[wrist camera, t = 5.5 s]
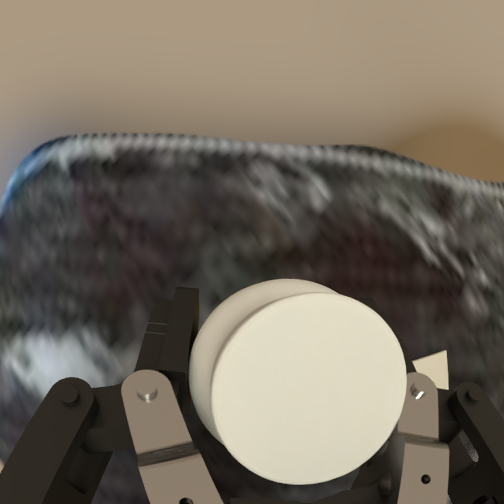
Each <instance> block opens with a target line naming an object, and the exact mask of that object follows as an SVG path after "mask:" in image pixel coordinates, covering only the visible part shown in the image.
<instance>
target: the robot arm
mask: <svg viewBox="0 0 504 504" xmlns="http://www.w3.org/2000/svg"><path fill="white" fill-rule="evenodd" d="M352 299H355V300H357V301H359V302H361V303H363V304H364V305H366V306H368V307H369V308H371V309H372V310H374V311H375V312H376V313H377V314H378V315H379V316H380V317H381V318H382V319H383V320H384V321H385V322H386V323H387V324H388V326H389V327H390V328H391V330H392V331H393V333H394V335H395V336H396V338H397V340H398V342H399V344H400V347H401V349H402V352H403V355H404V360H405V365H406V376H407V385H406V395H405V400H404V404H403V408H402V411H401V414H400V417H399V419H398V421H397V423H396V425H395V427H394V429H393V431H392V432H391V434H390V436H389V437H388V439H387V440H386V441H385V443H384V444H383V445H382V446H381V447H380V449H379V450H378V451H377V452H376V453H375V454H374V455H373V456H372V457H371V458H369V459H368V460H367V461H366V462H364V463H363V464H362V465H361V468H360V471H359V473H358V475H357V477H356V478H355V480H354V482H353V484H352V487H351V490H345V491H342V492H340V493H337V494H335V495H332V496H330V497H327V498H324V499H322V500H319V501H316V502H313V503H308V504H447V493H448V495H449V497H450V499H451V501H452V503H453V504H504V420H503V419H502V417H501V416H500V414H499V413H498V411H497V410H496V408H495V407H494V405H493V404H492V402H491V401H490V400H489V398H488V397H487V395H486V394H485V392H484V391H483V390H482V389H481V388H480V387H479V386H478V385H477V384H475V383H473V382H463V383H461V384H460V385H459V386H458V387H457V388H456V390H455V391H453V390H447V389H441V388H437V387H436V385H435V383H434V382H433V381H432V380H431V379H430V378H429V377H428V376H426V375H424V374H422V373H418V372H417V371H416V369H415V366H414V364H413V362H412V360H411V358H410V356H409V354H408V351H407V349H406V347H405V345H404V343H402V339H401V337H400V335H399V334H398V331H397V329H396V327H395V325H394V323H393V321H392V320H391V319H390V318H389V317H388V316H387V315H386V314H385V313H384V312H379V310H378V308H377V306H376V304H375V302H374V300H373V299H367V298H352ZM198 321H199V289H197V288H185V287H177V289H176V293H175V297H174V301H163V300H161V301H160V302H159V303H158V304H157V305H156V306H155V307H154V308H153V309H152V312H151V315H150V319H149V324H148V325H147V329H146V333H145V336H144V339H143V343H142V346H141V350H140V353H139V357H138V361H137V364H136V368H135V370H134V372H133V373H132V374H131V375H129V376H128V377H127V378H126V379H125V380H124V382H122V383H120V384H118V385H114V386H108V387H99V388H91V387H90V385H89V384H88V383H87V382H86V381H84V380H82V379H79V378H75V377H69V378H64V379H62V380H59V381H58V382H56V383H55V384H54V385H53V386H52V388H51V389H50V391H49V392H48V394H47V395H46V397H45V398H44V400H43V401H42V403H41V405H40V406H39V408H38V409H37V411H36V413H35V414H34V416H33V417H32V419H31V421H30V422H29V424H28V426H27V427H26V429H25V431H24V432H23V434H22V436H21V437H20V439H19V441H18V443H17V444H16V446H15V448H14V450H13V451H12V453H11V455H10V457H9V459H8V460H7V462H6V464H5V466H4V468H3V470H2V471H1V473H0V504H91V501H92V499H93V496H94V494H95V492H96V489H97V487H98V485H99V483H100V480H101V478H102V476H103V473H104V471H105V469H106V467H107V464H108V462H109V460H110V458H111V455H112V453H113V451H117V450H126V449H134V448H135V450H136V454H137V463H138V467H139V471H140V474H141V477H142V480H143V483H144V486H145V489H146V492H147V495H148V498H149V501H150V504H223V502H222V500H221V498H220V495H219V493H218V491H217V489H216V487H215V485H214V483H213V481H212V478H211V476H210V474H209V472H208V470H207V467H206V465H205V463H204V461H203V458H202V456H201V454H200V452H199V450H198V448H197V447H196V446H195V445H194V444H193V442H192V439H191V437H190V434H189V432H188V429H187V427H186V424H185V422H184V419H183V416H182V414H183V415H189V409H190V399H191V394H190V389H189V380H188V368H189V360H190V354H191V350H192V347H193V344H194V341H195V339H196V337H197V334H198ZM463 430H464V432H465V433H466V435H467V436H468V438H469V440H470V441H471V443H472V445H473V446H474V448H475V450H476V451H477V453H478V457H479V459H478V462H474V461H473V460H472V459H471V457H470V455H469V454H468V452H467V450H466V449H465V447H464V445H463V444H462V442H461V440H460V439H459V437H458V435H459V434H460V433H461V432H462V431H463ZM228 504H306V503H298V502H291V501H285V500H279V499H273V498H229V502H228Z"/></svg>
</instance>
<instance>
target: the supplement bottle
mask: <svg viewBox="0 0 504 504" xmlns="http://www.w3.org/2000/svg"><path fill="white" fill-rule="evenodd" d="M188 380H189V389H190V394H191V398H192V401H193V404H194V407H195V409H196V412H197V414H198V416H199V418H200V419H201V421H202V422H203V424H204V426H205V427H206V428H207V429H208V431H209V432H210V433H211V434H212V435H213V436H214V437H215V438H216V439H217V440H218V441H219V442H221V443H222V444H223V445H224V446H225V447H226V448H227V450H228V451H229V452H230V453H231V455H232V456H233V457H234V458H235V459H236V460H237V461H238V462H239V463H241V464H242V465H243V466H245V467H246V468H247V469H249V470H250V471H252V472H254V473H255V474H257V475H259V476H261V477H264V478H266V479H269V480H272V481H275V482H279V483H285V484H296V485H300V484H315V483H320V482H325V481H328V480H331V479H335V478H338V477H340V476H343V475H345V474H347V473H349V472H351V471H353V470H354V469H356V468H357V467H359V466H360V465H362V464H363V463H364V462H366V461H367V460H368V459H369V458H371V457H372V456H373V455H374V454H375V453H376V452H377V451H378V450H379V449H380V447H381V446H382V445H383V444H384V443H385V441H386V440H387V439H388V437H389V436H390V434H391V432H392V431H393V429H394V427H395V425H396V423H397V421H398V419H399V417H400V414H401V411H402V408H403V404H404V400H405V395H406V385H407V376H406V365H405V360H404V355H403V352H402V349H401V347H400V344H399V342H398V340H397V338H396V336H395V335H394V333H393V331H392V330H391V328H390V327H389V326H388V324H387V323H386V322H385V321H384V320H383V319H382V318H381V317H380V316H379V315H378V314H377V313H376V312H375V311H374V310H372V309H371V308H369V307H368V306H366V305H364V304H363V303H361V302H359V301H357V300H355V299H352V298H350V297H347V296H343V295H340V294H338V293H336V292H335V291H333V290H331V289H329V288H327V287H325V286H322V285H320V284H317V283H314V282H310V281H306V280H299V279H277V280H270V281H265V282H261V283H258V284H255V285H252V286H249V287H247V288H244V289H242V290H240V291H238V292H236V293H235V294H233V295H231V296H230V297H228V298H227V299H226V300H225V301H223V302H222V303H221V304H220V305H218V306H217V307H216V308H215V309H214V310H213V312H212V313H211V314H210V315H209V316H208V318H207V319H206V321H205V322H204V324H203V325H202V327H201V329H200V331H199V333H198V334H197V337H196V339H195V341H194V344H193V347H192V350H191V354H190V360H189V368H188Z"/></svg>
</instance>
